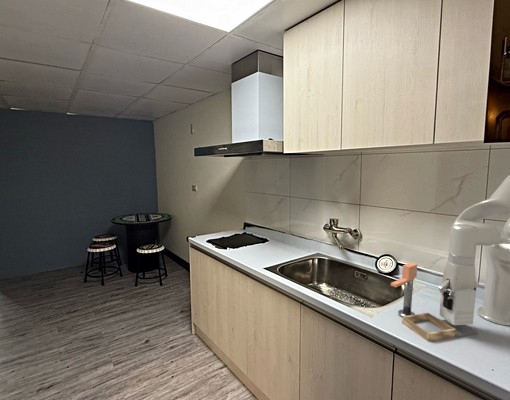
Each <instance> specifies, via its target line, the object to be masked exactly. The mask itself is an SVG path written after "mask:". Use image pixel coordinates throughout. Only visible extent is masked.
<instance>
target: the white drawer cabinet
mask: <svg viewBox="0 0 510 400" xmlns="http://www.w3.org/2000/svg"><path fill="white" fill-rule="evenodd" d="M448 289H450V290H451V288H450V287H448ZM448 294H450V291H448ZM476 294H477V289H476V290H474V289H472V288H469V289H462V290H455V292H454V293H453V297H452V298H451V299H453V305H452V310H449V309H447V308H445V307H443V297H444V296H442V294H441V293H440V303H439V316H440V317H442V318H443V320H447V321H448V322H450V323H451V324H453V325H467V326H471V325H474V317H475V316H474V315H475V306H476V296H477V295H476Z"/></svg>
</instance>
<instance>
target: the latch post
mask: <svg viewBox="0 0 510 400" xmlns="http://www.w3.org/2000/svg"><path fill="white" fill-rule="evenodd" d="M413 289H414V280H412V281H410V282H408V283H405V284H404V290H403V292H404V293H403V304H402V305H403V306H402V309H399V310H398V311H397V313H398V314H397V315H398V316H399V317H400V318H402V317H403V316H410V315H416V314H415V312H413V311H412V306H413V304H412V303H413Z"/></svg>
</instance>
